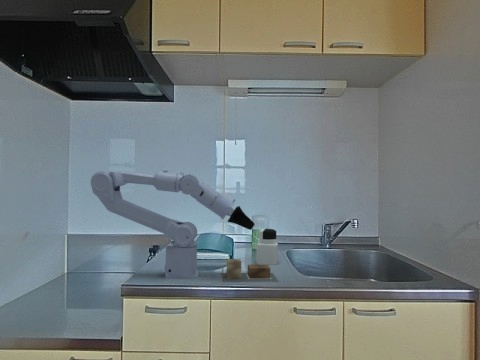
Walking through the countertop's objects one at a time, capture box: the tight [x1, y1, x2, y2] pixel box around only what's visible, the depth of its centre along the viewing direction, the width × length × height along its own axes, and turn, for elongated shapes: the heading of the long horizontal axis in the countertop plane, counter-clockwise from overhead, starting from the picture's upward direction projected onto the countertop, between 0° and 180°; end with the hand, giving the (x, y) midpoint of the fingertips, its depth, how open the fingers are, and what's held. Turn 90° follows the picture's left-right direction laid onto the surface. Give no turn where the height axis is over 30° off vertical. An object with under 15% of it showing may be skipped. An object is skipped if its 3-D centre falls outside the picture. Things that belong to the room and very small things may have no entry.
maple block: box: [226, 258, 242, 279], centre depth 139 cm, size 4×4×5 cm
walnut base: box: [247, 263, 271, 279], centre depth 141 cm, size 6×6×3 cm
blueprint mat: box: [220, 272, 280, 283], centre depth 139 cm, size 16×12×1 cm
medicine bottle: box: [255, 228, 279, 266], centre depth 164 cm, size 7×7×12 cm
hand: (252, 226), depth 141 cm, fingers open, 7 cm apart
